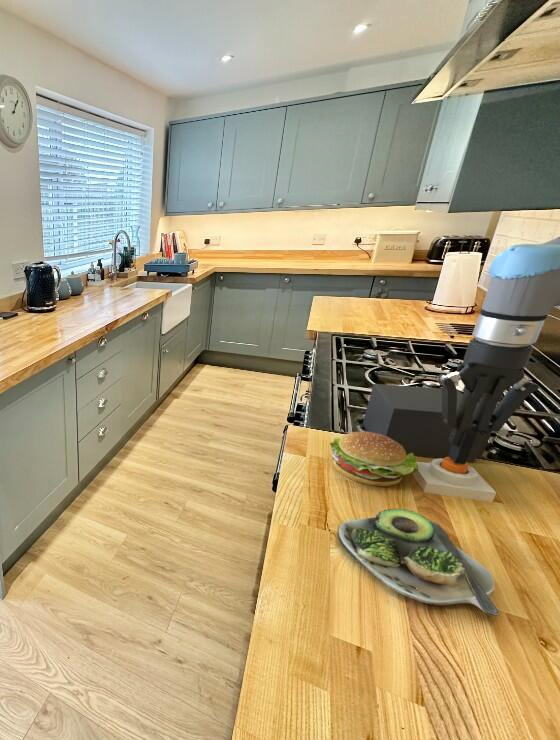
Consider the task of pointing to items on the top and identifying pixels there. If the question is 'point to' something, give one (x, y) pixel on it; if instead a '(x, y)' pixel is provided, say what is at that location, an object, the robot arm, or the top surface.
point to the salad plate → (417, 559)
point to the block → (452, 482)
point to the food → (372, 458)
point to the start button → (454, 466)
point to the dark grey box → (412, 419)
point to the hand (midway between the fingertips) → (456, 459)
